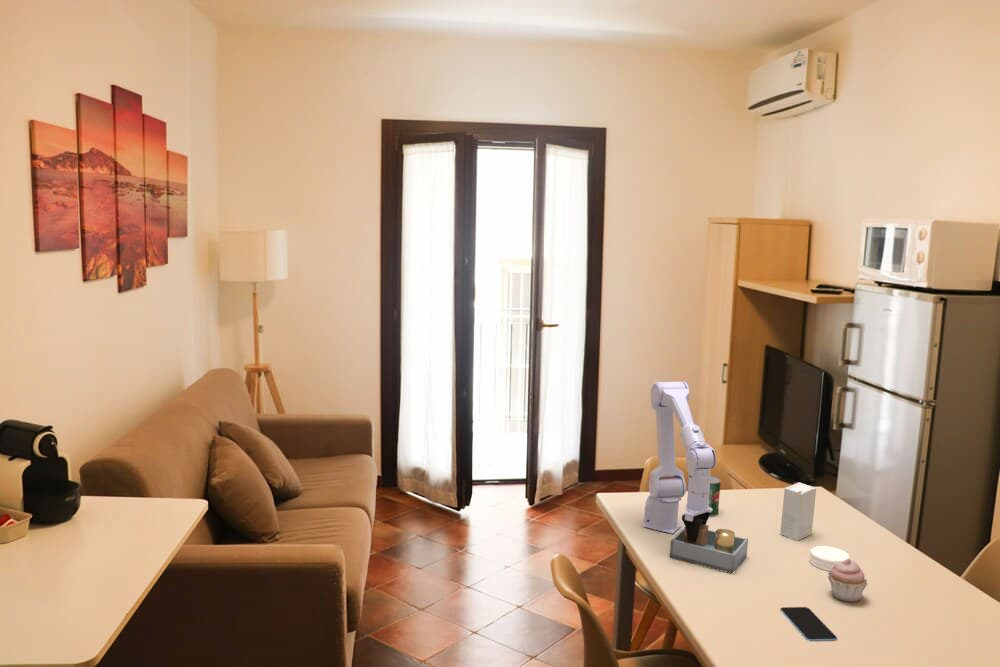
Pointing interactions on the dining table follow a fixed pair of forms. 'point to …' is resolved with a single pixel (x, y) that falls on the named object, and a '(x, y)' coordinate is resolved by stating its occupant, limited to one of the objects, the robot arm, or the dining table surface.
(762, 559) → the dining table surface
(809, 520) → the skincare box
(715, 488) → the canned tomato
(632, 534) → the dining table surface
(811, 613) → the smartphone
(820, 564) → the white round disc
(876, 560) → the dining table surface
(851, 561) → the cupcake
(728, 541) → the brass cylinder
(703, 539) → the walnut cube
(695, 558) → the tote
